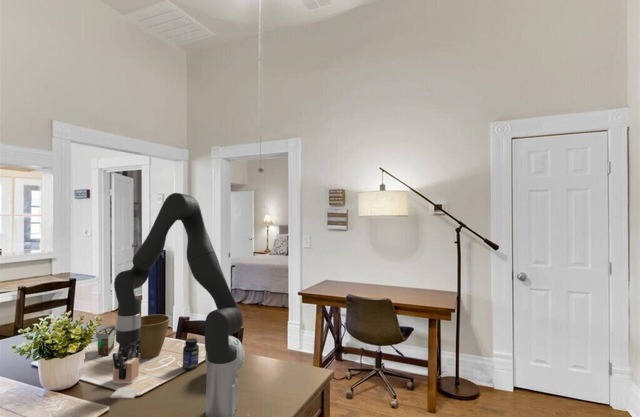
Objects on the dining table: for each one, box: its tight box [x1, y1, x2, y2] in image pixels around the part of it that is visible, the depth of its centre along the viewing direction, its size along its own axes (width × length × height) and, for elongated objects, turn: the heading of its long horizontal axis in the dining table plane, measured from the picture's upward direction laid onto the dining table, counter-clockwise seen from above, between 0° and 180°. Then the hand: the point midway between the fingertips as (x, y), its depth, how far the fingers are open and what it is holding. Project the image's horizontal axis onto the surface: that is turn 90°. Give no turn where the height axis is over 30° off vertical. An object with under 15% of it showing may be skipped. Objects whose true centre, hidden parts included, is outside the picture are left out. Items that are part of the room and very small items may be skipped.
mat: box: [108, 387, 142, 400], centre depth 120 cm, size 8×6×1 cm
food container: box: [95, 325, 116, 357], centre depth 155 cm, size 12×6×10 cm, turn 17°
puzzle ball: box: [205, 335, 246, 373], centre depth 137 cm, size 15×15×15 cm
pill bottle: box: [182, 337, 200, 371], centre depth 143 cm, size 6×6×11 cm
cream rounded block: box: [112, 366, 140, 385], centre depth 130 cm, size 7×5×6 cm
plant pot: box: [139, 314, 170, 360], centre depth 153 cm, size 15×15×16 cm
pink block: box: [114, 357, 140, 381], centre depth 120 cm, size 6×4×6 cm
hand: (126, 375), depth 120 cm, fingers closed on pink block, 4 cm apart
